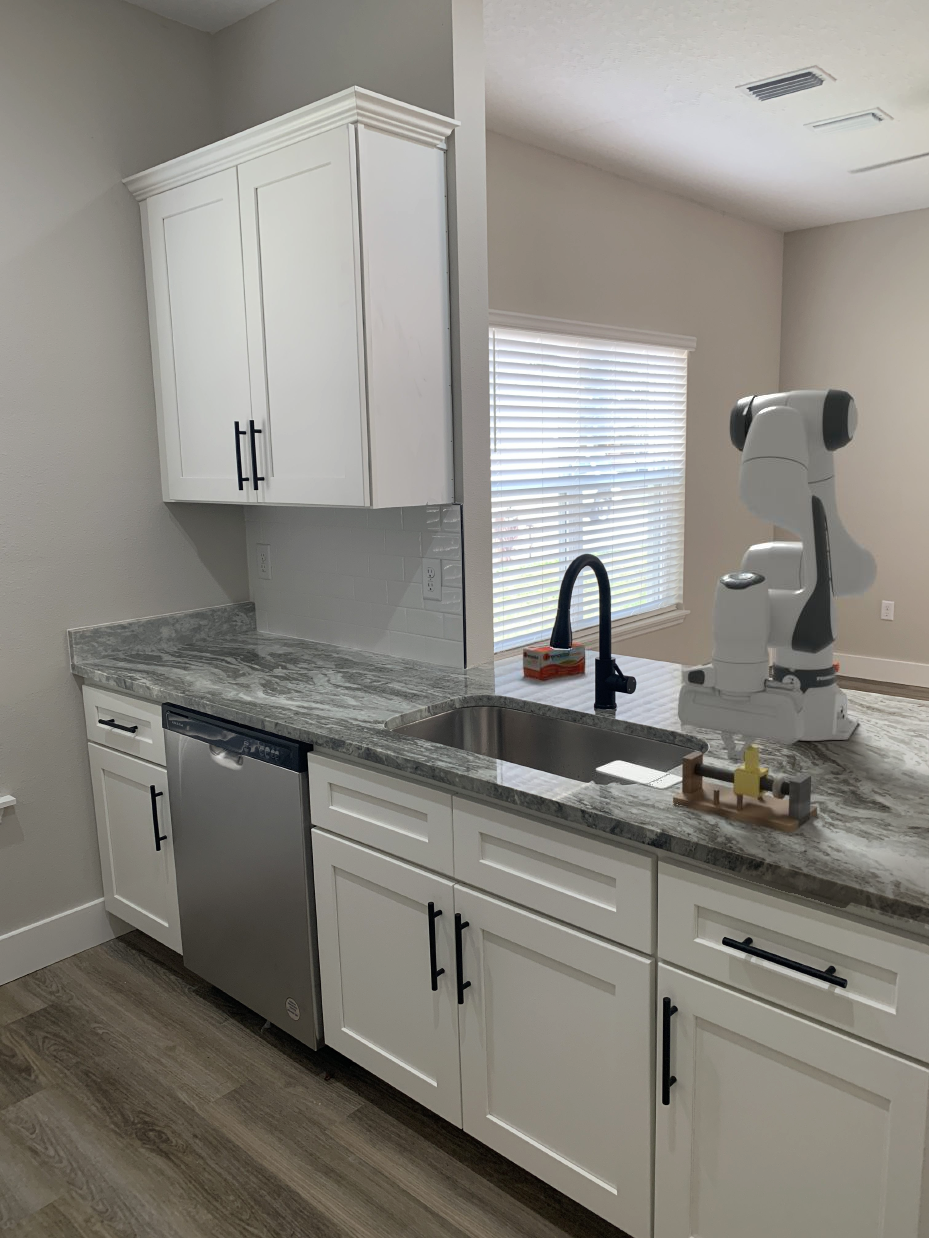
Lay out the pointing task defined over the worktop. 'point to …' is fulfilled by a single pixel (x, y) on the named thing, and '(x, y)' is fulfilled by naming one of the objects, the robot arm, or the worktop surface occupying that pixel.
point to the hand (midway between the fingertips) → (737, 759)
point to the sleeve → (750, 774)
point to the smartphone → (638, 774)
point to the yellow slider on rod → (746, 797)
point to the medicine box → (553, 662)
